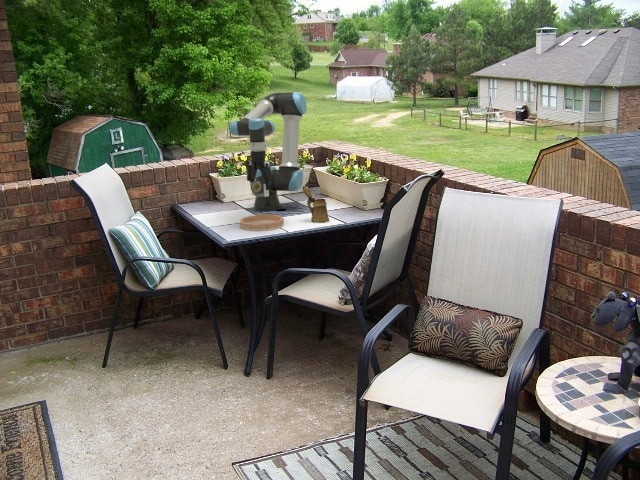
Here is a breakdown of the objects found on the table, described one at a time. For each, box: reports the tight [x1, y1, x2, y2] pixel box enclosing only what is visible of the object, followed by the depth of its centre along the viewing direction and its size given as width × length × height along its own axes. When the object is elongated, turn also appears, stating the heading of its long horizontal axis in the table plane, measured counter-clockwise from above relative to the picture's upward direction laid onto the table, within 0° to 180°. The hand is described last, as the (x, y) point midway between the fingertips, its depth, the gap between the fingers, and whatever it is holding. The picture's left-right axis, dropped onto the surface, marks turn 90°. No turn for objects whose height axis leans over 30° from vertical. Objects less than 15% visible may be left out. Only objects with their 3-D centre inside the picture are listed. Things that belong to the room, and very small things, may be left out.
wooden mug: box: [302, 185, 330, 224], centre depth 360 cm, size 9×14×18 cm, turn 71°
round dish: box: [239, 214, 285, 232], centre depth 356 cm, size 22×22×3 cm
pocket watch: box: [250, 177, 264, 197], centre depth 351 cm, size 8×8×10 cm
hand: (260, 195), depth 352 cm, fingers closed on pocket watch, 8 cm apart
